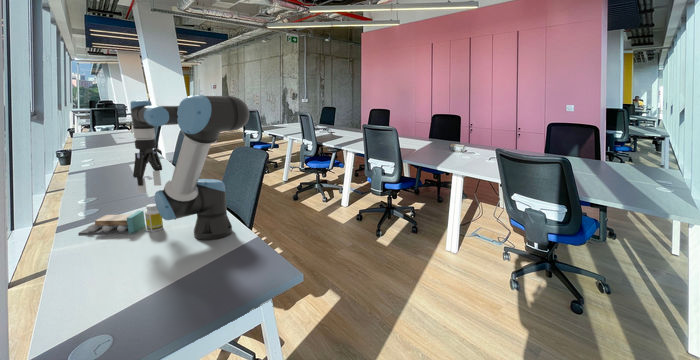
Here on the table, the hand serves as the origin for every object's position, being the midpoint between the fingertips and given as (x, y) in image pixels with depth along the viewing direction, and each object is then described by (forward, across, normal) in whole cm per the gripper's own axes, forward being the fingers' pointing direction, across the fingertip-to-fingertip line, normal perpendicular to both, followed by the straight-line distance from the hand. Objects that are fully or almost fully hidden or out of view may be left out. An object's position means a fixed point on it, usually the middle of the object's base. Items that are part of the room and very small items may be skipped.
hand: (150, 189), depth 153 cm
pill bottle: (+18, 0, 0) cm, 18 cm away
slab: (+14, 0, -15) cm, 21 cm away
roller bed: (+18, 0, -17) cm, 25 cm away
